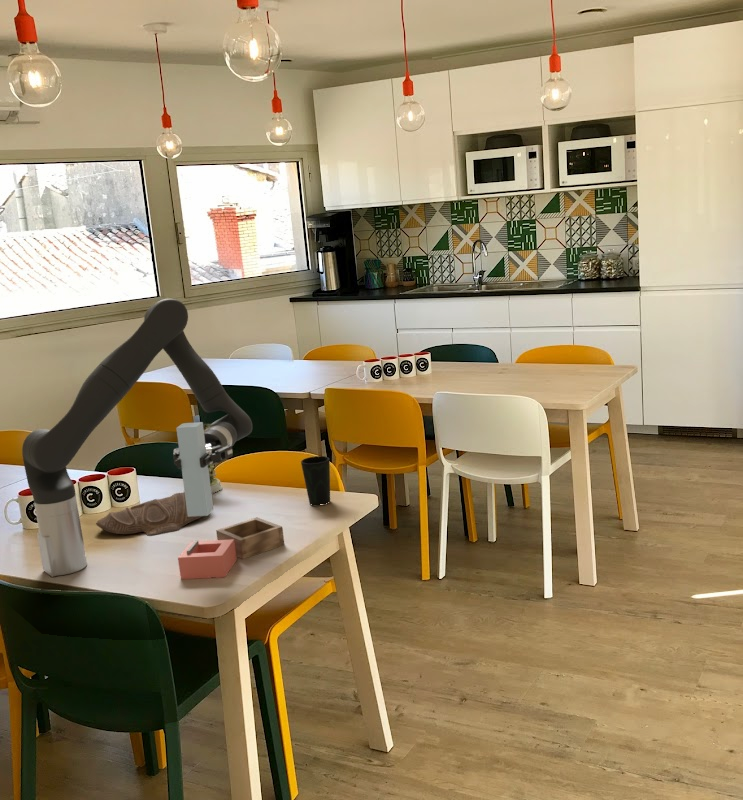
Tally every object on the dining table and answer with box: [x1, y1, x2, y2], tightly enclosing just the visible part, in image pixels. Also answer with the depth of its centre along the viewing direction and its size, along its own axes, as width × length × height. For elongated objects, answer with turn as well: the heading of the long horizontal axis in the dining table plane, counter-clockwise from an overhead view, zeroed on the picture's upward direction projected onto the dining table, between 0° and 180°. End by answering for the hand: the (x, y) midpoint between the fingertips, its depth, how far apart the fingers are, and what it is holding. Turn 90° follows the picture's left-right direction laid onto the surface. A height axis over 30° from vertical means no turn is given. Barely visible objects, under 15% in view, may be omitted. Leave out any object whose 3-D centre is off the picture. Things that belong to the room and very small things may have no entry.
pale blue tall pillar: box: [175, 421, 214, 517], centre depth 200 cm, size 4×4×20 cm
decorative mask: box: [95, 492, 203, 537], centre depth 243 cm, size 23×7×30 cm
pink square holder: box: [177, 539, 238, 580], centre depth 204 cm, size 10×10×6 cm
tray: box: [215, 516, 285, 560], centre depth 216 cm, size 11×11×4 cm
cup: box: [300, 455, 331, 505], centre depth 245 cm, size 8×8×12 cm
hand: (190, 463), depth 197 cm, fingers closed on pale blue tall pillar, 4 cm apart
